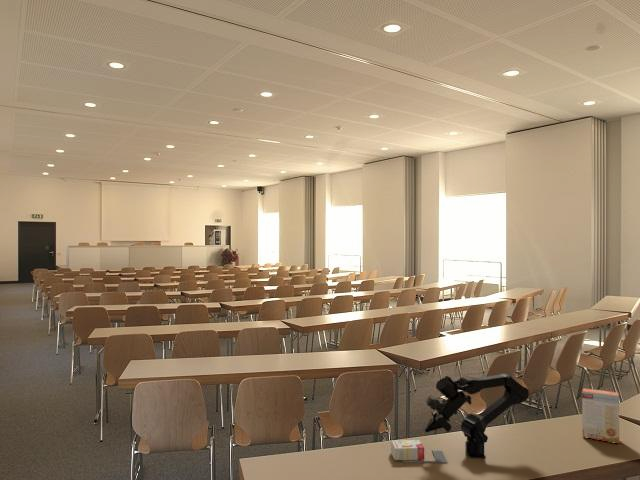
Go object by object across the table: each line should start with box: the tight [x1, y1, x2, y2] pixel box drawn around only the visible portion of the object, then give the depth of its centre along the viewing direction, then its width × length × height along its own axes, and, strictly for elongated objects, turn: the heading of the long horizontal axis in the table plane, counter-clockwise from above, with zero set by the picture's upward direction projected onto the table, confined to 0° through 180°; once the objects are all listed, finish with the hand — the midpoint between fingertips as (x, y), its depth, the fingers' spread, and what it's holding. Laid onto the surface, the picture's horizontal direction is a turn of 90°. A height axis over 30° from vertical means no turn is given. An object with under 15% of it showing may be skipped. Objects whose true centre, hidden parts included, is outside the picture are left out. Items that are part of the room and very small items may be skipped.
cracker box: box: [581, 388, 620, 444], centre depth 218 cm, size 14×6×21 cm, turn 58°
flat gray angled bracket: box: [402, 450, 448, 464], centre depth 199 cm, size 17×11×1 cm, turn 87°
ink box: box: [390, 439, 425, 461], centre depth 199 cm, size 9×5×12 cm
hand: (425, 431), depth 200 cm, fingers closed
